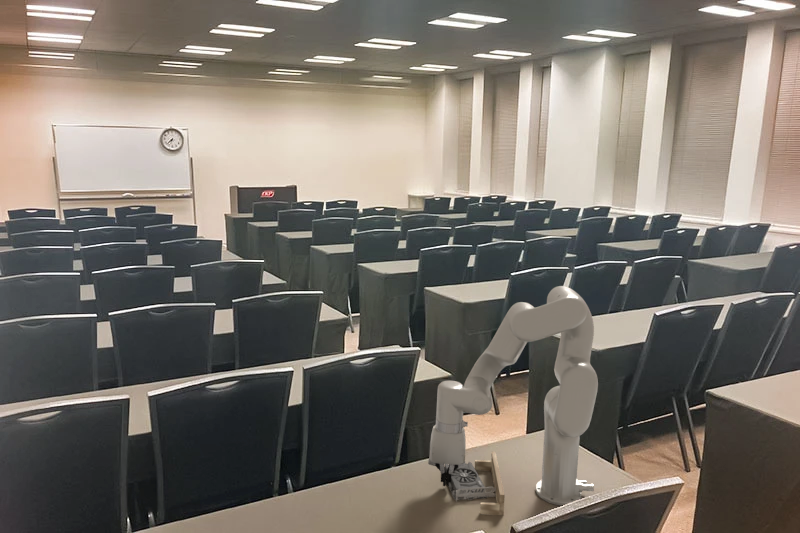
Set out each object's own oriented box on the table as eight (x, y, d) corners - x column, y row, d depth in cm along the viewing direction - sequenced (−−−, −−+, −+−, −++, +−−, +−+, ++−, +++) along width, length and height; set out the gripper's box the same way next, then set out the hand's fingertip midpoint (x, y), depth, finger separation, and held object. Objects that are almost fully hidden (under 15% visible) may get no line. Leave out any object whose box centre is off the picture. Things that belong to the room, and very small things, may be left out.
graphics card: (497, 488, 159) (455, 491, 157) (496, 501, 159) (455, 503, 157) (479, 458, 175) (442, 461, 173) (479, 470, 176) (441, 472, 174)
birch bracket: (494, 469, 174) (495, 451, 173) (503, 515, 152) (504, 494, 150) (474, 468, 174) (475, 450, 173) (480, 514, 152) (481, 493, 151)
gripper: (474, 420, 163) (470, 478, 167) (422, 417, 164) (420, 475, 168) (476, 432, 156) (472, 493, 159) (422, 429, 157) (419, 489, 160)
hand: (445, 483), depth 163 cm, fingers closed
